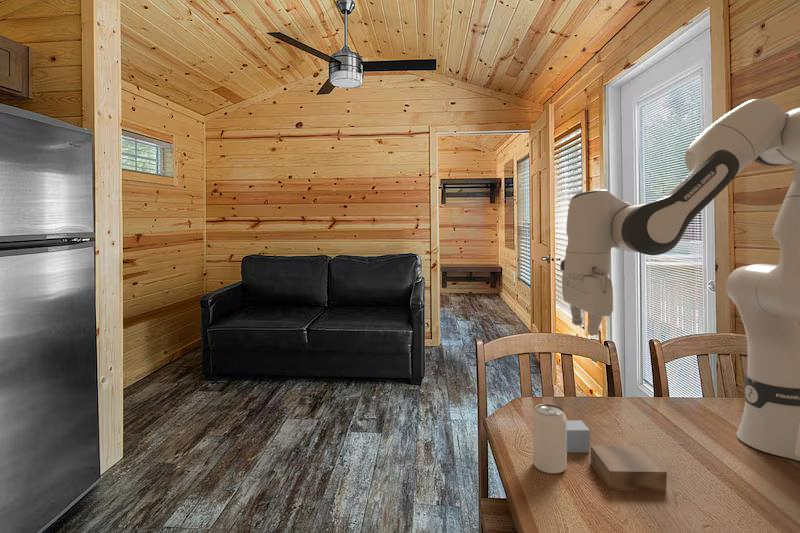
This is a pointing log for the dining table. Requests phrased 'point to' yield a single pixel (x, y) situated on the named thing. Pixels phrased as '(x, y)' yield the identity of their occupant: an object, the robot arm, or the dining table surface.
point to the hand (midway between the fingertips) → (584, 329)
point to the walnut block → (628, 468)
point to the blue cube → (577, 436)
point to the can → (549, 439)
